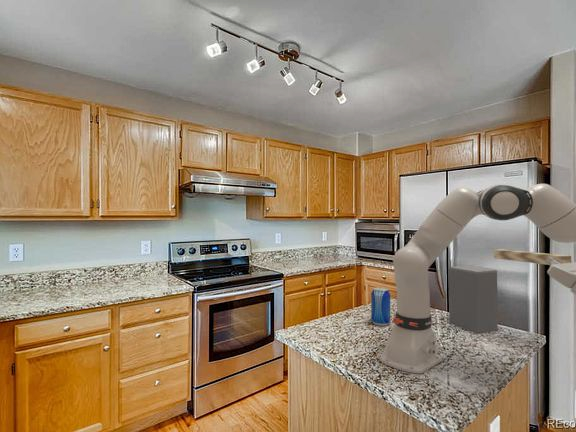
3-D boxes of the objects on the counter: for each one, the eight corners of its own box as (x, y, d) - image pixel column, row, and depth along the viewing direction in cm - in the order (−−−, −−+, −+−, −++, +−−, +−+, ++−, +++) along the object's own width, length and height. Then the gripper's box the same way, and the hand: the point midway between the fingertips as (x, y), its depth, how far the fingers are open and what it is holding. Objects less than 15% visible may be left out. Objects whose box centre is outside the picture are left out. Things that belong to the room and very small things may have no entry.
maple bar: (571, 266, 104) (571, 255, 104) (564, 266, 103) (563, 256, 103) (500, 257, 126) (500, 249, 126) (494, 258, 125) (494, 249, 125)
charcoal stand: (497, 330, 132) (497, 270, 132) (477, 333, 128) (477, 271, 128) (468, 320, 145) (468, 265, 145) (449, 323, 141) (449, 266, 141)
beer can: (374, 319, 146) (373, 286, 146) (392, 322, 142) (392, 288, 142) (369, 324, 139) (369, 289, 139) (388, 328, 135) (387, 291, 135)
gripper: (622, 274, 98) (576, 249, 109) (584, 279, 91) (539, 252, 102) (609, 289, 101) (566, 263, 112) (571, 295, 94) (529, 267, 105)
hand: (553, 258), depth 107 cm, fingers closed on maple bar, 4 cm apart
